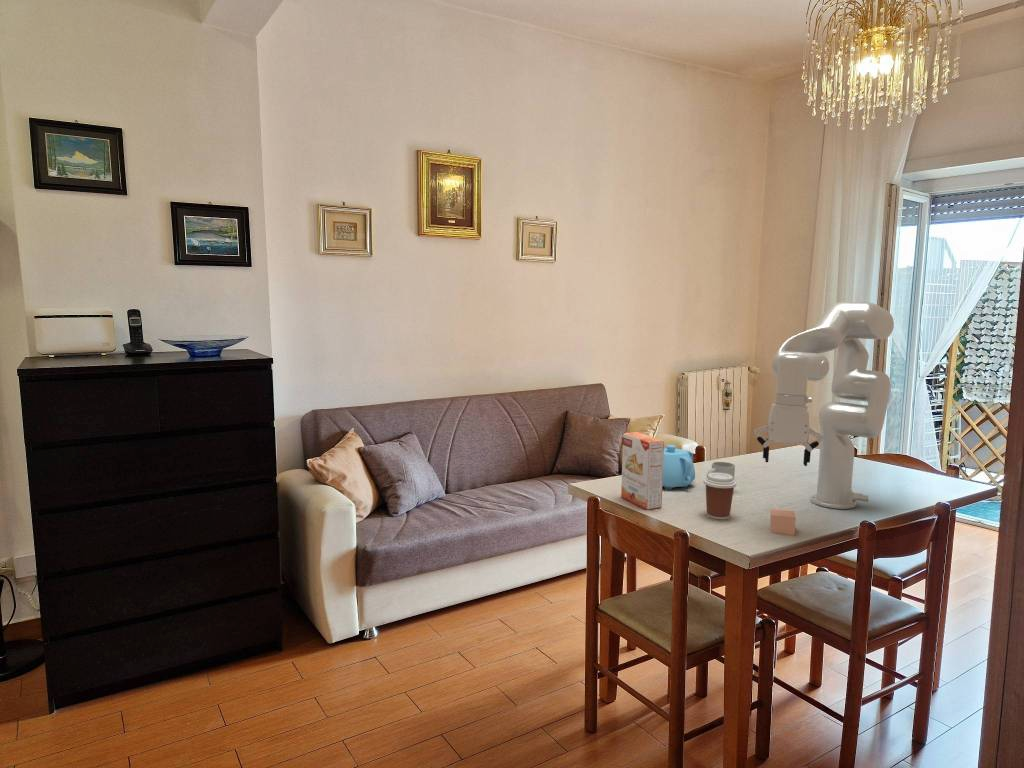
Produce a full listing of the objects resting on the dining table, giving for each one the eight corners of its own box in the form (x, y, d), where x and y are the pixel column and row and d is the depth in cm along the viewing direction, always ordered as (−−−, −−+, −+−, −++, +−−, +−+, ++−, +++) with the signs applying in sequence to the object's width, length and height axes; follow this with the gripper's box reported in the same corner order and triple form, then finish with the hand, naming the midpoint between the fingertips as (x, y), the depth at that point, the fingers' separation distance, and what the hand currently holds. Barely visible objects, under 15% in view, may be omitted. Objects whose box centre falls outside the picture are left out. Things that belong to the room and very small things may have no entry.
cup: (738, 492, 216) (739, 466, 214) (713, 496, 212) (715, 468, 210) (723, 486, 222) (724, 461, 221) (699, 489, 218) (700, 463, 217)
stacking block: (793, 528, 183) (794, 511, 182) (794, 535, 177) (795, 517, 177) (770, 525, 185) (771, 508, 184) (770, 532, 179) (771, 514, 179)
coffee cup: (701, 509, 198) (703, 470, 196) (733, 512, 195) (736, 473, 194) (701, 519, 189) (703, 478, 188) (735, 522, 187) (737, 481, 185)
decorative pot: (650, 476, 235) (652, 438, 233) (697, 481, 228) (699, 442, 227) (640, 488, 220) (641, 448, 218) (689, 494, 214) (691, 452, 212)
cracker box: (619, 497, 209) (622, 432, 206) (635, 495, 211) (638, 431, 209) (645, 510, 196) (648, 441, 193) (662, 508, 198) (665, 440, 196)
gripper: (824, 400, 177) (819, 463, 179) (755, 396, 183) (751, 457, 185) (827, 404, 170) (822, 469, 172) (755, 400, 176) (751, 462, 178)
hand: (785, 463), depth 179 cm, fingers open, 9 cm apart
